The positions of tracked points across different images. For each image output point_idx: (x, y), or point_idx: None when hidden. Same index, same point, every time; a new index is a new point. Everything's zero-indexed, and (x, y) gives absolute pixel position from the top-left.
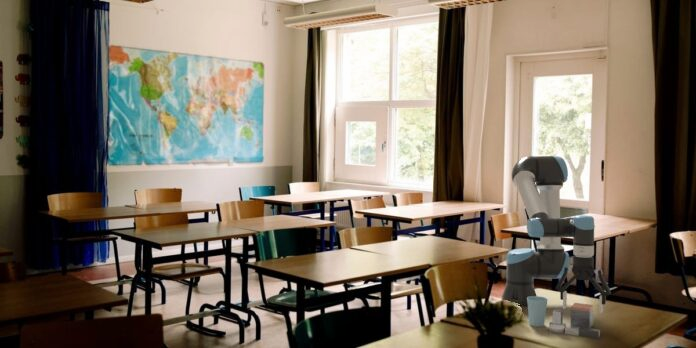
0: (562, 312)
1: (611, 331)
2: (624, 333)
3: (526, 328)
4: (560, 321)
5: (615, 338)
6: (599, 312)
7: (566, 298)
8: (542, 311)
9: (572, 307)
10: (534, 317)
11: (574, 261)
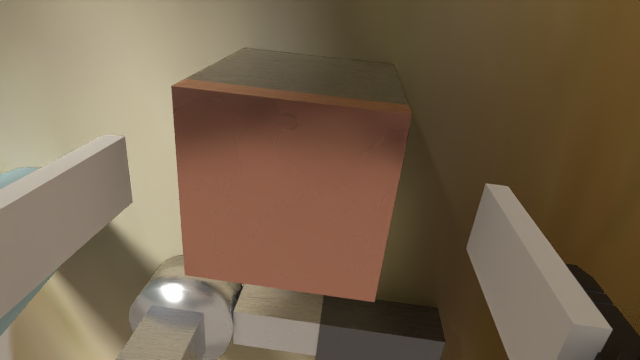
0: None
1: (527, 179)
2: (619, 194)
3: (38, 292)
4: None
5: None
6: (468, 254)
7: (54, 181)
8: (17, 315)
9: (203, 274)
10: None
11: None
